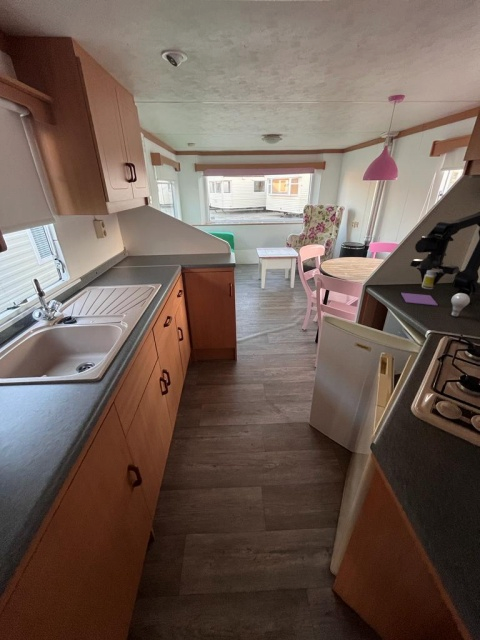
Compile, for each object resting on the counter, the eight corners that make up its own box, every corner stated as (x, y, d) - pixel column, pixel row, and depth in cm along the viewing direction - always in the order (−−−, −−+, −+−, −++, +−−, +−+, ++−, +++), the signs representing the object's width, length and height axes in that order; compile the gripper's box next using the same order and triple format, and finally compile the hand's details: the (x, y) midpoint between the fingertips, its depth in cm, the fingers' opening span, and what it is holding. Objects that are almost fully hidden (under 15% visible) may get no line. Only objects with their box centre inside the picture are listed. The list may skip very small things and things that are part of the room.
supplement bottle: (434, 289, 127) (440, 272, 123) (423, 289, 128) (428, 272, 124) (430, 286, 131) (435, 269, 127) (419, 285, 132) (424, 269, 128)
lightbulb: (455, 313, 124) (464, 290, 119) (466, 319, 118) (476, 296, 113) (442, 313, 124) (450, 291, 119) (452, 319, 118) (461, 296, 113)
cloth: (400, 293, 148) (401, 292, 147) (429, 296, 143) (430, 295, 143) (406, 302, 136) (406, 301, 136) (437, 305, 132) (438, 305, 131)
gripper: (407, 250, 125) (399, 281, 132) (451, 257, 111) (440, 292, 118) (420, 247, 130) (412, 277, 137) (465, 253, 116) (453, 287, 122)
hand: (428, 283), depth 128 cm, fingers closed on supplement bottle, 5 cm apart
